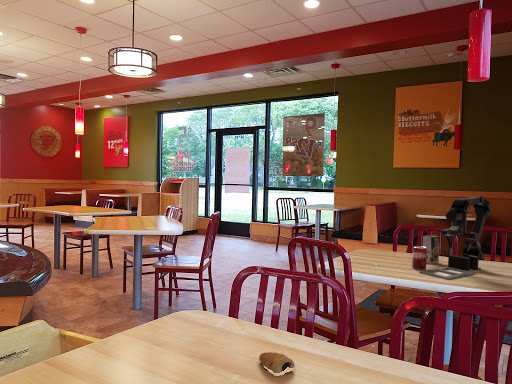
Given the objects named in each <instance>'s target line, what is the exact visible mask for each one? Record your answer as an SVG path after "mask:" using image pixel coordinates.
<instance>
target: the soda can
mask: <svg viewBox="0 0 512 384" xmlns="http://www.w3.org/2000/svg"><path fill="white" fill-rule="evenodd" d="M411 260H412V264H411V268H412V269H414V270H418V271H423V270H427V263H426V262H427V248H426V247H423V246H419V245H418V246H417V245H415V246H413V247H412V259H411Z"/></svg>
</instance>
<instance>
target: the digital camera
mask: <svg viewBox="0 0 512 384" xmlns="http://www.w3.org/2000/svg"><path fill="white" fill-rule="evenodd" d="M447 257H448V259H447V267H450V268H455V269H460V270H464V271H469V272H470V270H471V269H470V258H467V257H464V256H460V255H454V254H449V255H448V256H447Z"/></svg>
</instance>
